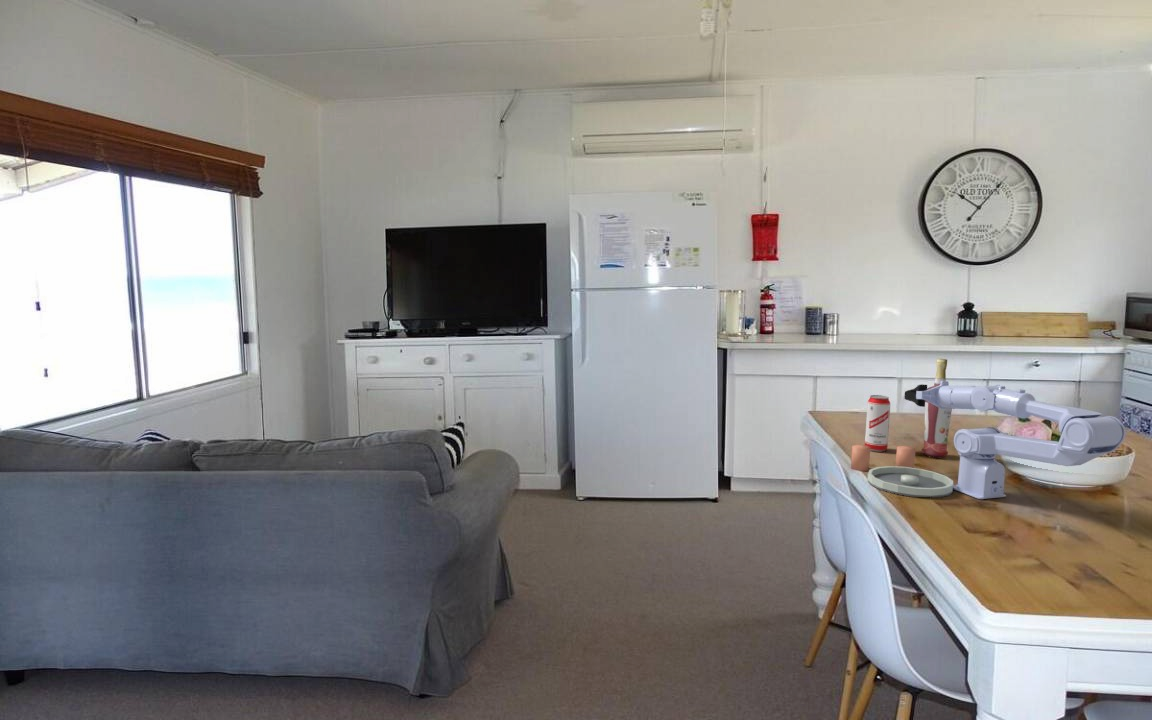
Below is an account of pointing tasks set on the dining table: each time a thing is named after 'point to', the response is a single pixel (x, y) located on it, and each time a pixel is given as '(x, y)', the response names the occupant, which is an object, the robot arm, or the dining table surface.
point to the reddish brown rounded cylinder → (860, 457)
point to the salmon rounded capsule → (905, 456)
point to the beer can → (877, 423)
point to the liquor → (936, 420)
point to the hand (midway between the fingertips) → (917, 396)
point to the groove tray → (910, 481)
